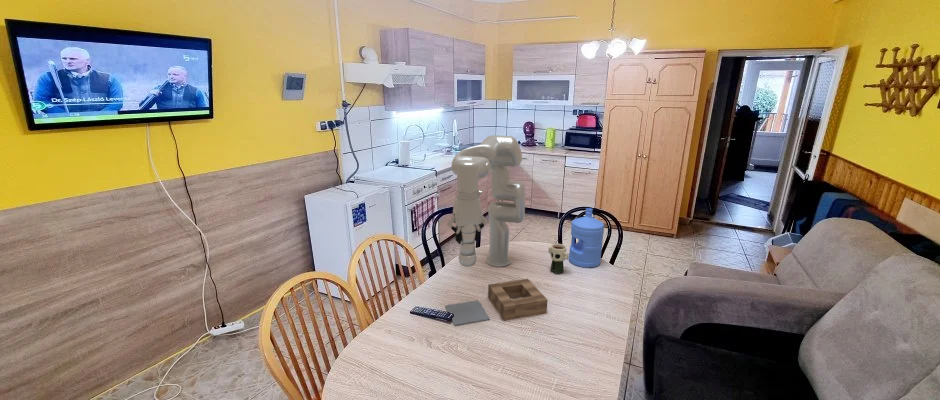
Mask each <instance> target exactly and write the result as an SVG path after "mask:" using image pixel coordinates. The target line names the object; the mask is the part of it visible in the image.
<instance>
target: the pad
mask: <svg viewBox="0 0 940 400" xmlns="http://www.w3.org/2000/svg"><path fill="white" fill-rule="evenodd" d="M445 310H446V312H447V313H448V312H452V313H453V314H454V317H453V318H452V320H451V322H452V324H453V326H454V327H458V326H462V325H463V326H464V325H468V324H475V323H481V322H487V321H490V320H491V319H490V318H491V317H490V316H489V314H488V313H487V311H486V309H485V308H484V307H483V306H482V304H481V302H480V301H479V300H478V299H477V300H472V301H465V302H459V303H452V304H446V305H445Z"/></svg>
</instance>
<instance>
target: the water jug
mask: <svg viewBox="0 0 940 400" xmlns="http://www.w3.org/2000/svg"><path fill="white" fill-rule="evenodd" d="M593 210H594V209H593V208H590V207H585V214H584V215H585V216H582V217H581V216H580V217H577V218H575V219H573V220H572V221H571V227H570V235H571V239H570V240H571V242H570V246H569V253H568V254H569V255H568V260H569V262H570V263H571V264H572V265H573V266H574V265H575V266H577V267H580V268H586V267H587V269H589V267H591V268H596V267H598V266H599V265H600V264H601V262H602V257H601V256H602V250H603V240H604V233H605V224H604V222H602V221H601V220H599V219H597V218H595V217H593ZM576 239H577V240H578V241H577V242H576Z"/></svg>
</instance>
